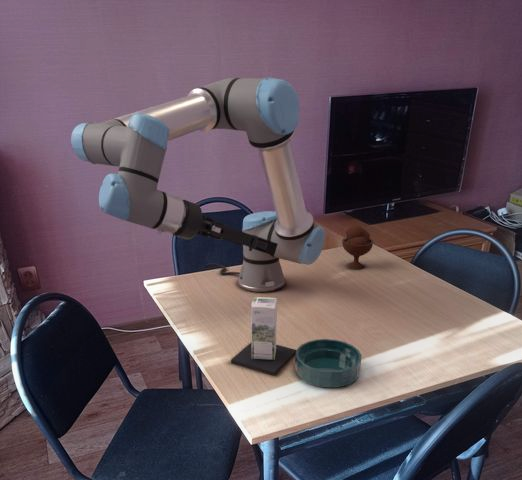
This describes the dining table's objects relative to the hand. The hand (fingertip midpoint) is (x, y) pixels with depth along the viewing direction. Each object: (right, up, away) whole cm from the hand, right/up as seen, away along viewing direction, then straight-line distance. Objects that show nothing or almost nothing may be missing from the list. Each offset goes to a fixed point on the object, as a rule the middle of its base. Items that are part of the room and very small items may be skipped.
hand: (257, 244), depth 116 cm
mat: (+2, -26, +9) cm, 28 cm away
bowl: (+17, -29, +4) cm, 34 cm away
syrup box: (+1, -26, +9) cm, 27 cm away
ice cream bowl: (+35, +5, +65) cm, 74 cm away
